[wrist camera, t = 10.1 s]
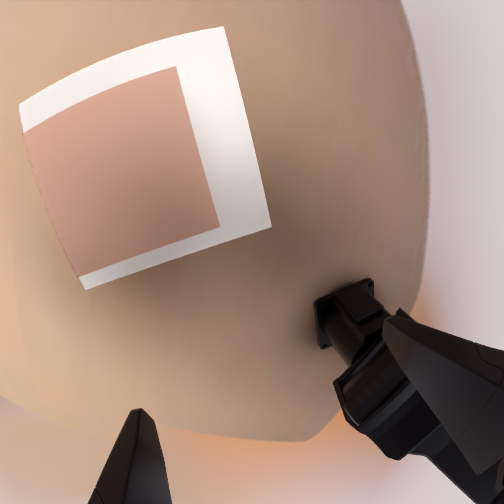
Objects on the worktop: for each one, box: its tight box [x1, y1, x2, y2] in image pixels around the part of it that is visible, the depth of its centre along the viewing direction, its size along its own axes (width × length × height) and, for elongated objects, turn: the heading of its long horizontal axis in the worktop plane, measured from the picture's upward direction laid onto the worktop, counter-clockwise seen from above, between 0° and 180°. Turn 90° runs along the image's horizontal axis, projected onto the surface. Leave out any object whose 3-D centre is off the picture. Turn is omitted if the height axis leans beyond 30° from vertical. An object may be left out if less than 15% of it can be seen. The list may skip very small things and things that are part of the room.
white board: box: [18, 27, 272, 290], centre depth 16 cm, size 14×14×2 cm
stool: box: [23, 66, 220, 278], centre depth 12 cm, size 6×6×7 cm
